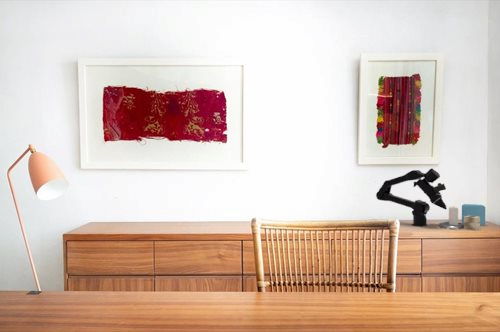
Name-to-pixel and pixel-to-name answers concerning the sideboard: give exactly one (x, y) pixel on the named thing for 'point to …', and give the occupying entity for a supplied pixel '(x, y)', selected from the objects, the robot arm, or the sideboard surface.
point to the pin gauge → (448, 227)
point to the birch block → (471, 222)
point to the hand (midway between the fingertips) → (446, 208)
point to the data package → (474, 212)
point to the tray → (460, 225)
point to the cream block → (453, 215)
